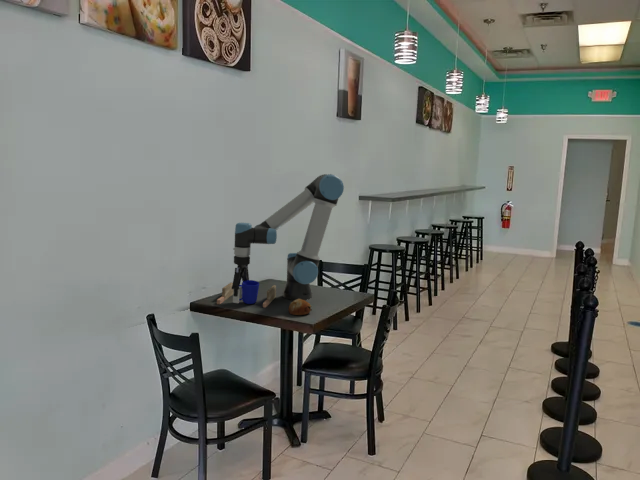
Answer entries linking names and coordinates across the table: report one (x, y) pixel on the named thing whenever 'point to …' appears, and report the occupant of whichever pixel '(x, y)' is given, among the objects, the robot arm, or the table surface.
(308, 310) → the bread roll
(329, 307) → the table surface
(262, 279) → the table surface
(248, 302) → the mug
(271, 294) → the tunnel walls
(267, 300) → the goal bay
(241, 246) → the robot arm
